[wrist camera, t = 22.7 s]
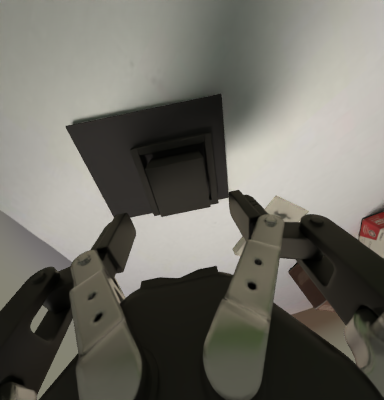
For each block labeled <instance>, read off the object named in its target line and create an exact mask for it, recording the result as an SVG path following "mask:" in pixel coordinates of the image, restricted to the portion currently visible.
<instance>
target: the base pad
mask: <svg viewBox="0 0 384 400" xmlns="http://www.w3.org/2000/svg"><path fill="white" fill-rule="evenodd" d="M66 129H67V131H68V132H69V134H70V136H71V138H72V140H73V142H74V144H75V145H76V147H77V149H78V151H79V153H80V155H81V157H82V158H83V160H84V162H85V164H86V166H87V168H88V170H89V172H90V173H91V175H92V177H93V179H94V181H95V183H96V185H97V186H98V188H99V190H100V192H101V194H102V196H103V198H104V199H105V201H106V203H107V205H108V207H109V209H110V211H111V213H112V214H113V216H114V217H115V216H116V215H117V214H122V213H128V215H129V217H135V216H140V215H145V214H150V213H153V214H154V216H157V215H161V214H160V211H159V208H158V205H157V203H156V200H155V197H154V194H153V191H152V188H151V185H150V182H149V180H148V177H147V174H146V171H145V169H146V167H147V165H148V164H149V162H150V160H151V159H153V158H158V157H163V156H167V155H172V154H177V153H182V152H187V151H191V150H196V149H198V150H199V152H200V153H201V155H202V156H203V159H204V166H205V173H206V180H207V187H208V194H209V201H210V205H211V204H217V203H218V200H219V199H224V198H228V182H227V168H226V153H225V139H224V124H223V109H222V95H221V94H217V95H213V96H208V97H203V98H198V99H193V100H189V101H184V102H179V103H174V104H169V105H165V106H160V107H155V108H150V109H145V110H141V111H136V112H131V113H126V114H121V115H116V116H112V117H107V118H102V119H97V120H92V121H88V122H83V123H78V124H73V125H68V126H66Z"/></svg>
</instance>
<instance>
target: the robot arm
mask: <svg viewBox="0 0 384 400" xmlns="http://www.w3.org/2000/svg"><path fill="white" fill-rule="evenodd" d="M229 208H230V214H231V216H232V218H233V220H234V222H235V223H236V225H237V227H238V229H239V230H240V232H241V234H242V236H243V237H244V239H245V241H246V244H245V246H244V249H243V251H242V254H241V257H240V259H239V262H238V264H237V267H236V270H235V272H234V275H232V274H228V273H224V272H218V270H217V266H214V267H209V268H204V269H199V270H196V271H194V272H192V273H190V274H188V275H185V276H183V277H181V278H161V277H160V278H155V279H150V280H145V281H142V282H141V287H140V289H138V290H136V291H134V292H133V293H131V294H130V295H129V296H128V297H126V298H125V296H124V294H123V292H122V290H121V288H120V286H119V284H118V282H117V280H116V279H115V274H116V273H121V272H123V271H124V268H125V266H126V263H127V260H128V257H129V254H130V251H131V248H132V245H133V242H134V239H135V236H136V230H135V227H134V225H133V223H132V221H131V219H130V217H129V215H128V213H122V214H117V215H116V216H115V217H114V219H113V221H112V222H110V223H109V224H108V225H107V226H106V227H105V228H104V230H103V231H102V233H101V234H100V236H99V238H98V239H97V241H96V242H95V244H94V245H93V247H92V248H91V250H89V251H86V252H84V253H82V254H81V255H79V256H78V257H77V258H76V259H75V260H74V261H73V262H72V264H71V266H70V267H68V268H66V269H63V270H61V271H59V272H58V271H57V270H56V269H55V268H54V267H47V268H44V269H42V270H40V271H38V272H37V273H35V274H34V275H32V276H31V277H30V278H29V279H28V280H27V281H26V282H25V284H23V285H22V287H21V288H20V289H19V290H18V291H17V292H16V294H15V295H14V296H13V297H12V298H11V300H10V301H9V302H8V303H7V304H6V305H5V307H4V308H3V309H2V310H1V311H0V400H37V394H38V392H39V389H40V387H41V385H42V383H43V381H44V379H45V377H46V374H47V372H48V370H49V368H50V366H51V364H52V362H53V359H54V357H55V355H56V353H57V351H58V349H59V347H60V344H61V342H62V340H63V338H64V336H65V334H66V332H67V329H68V327H69V325H70V323H71V321H72V319H73V321H74V327H75V333H76V340H77V347H78V354H77V355H76V356H75V358H74V359H73V360H72V361H71V362H70V363H69V365H68V366H67V367H66V368H65V369H64V371H63V372H62V373H61V374H60V375H59V377H58V378H57V379H56V380H55V381H54V383H53V384H52V385H51V386H50V387H49V388H48V389H47V391H46V392H45V393H44V394H43V395H42V397H41V398H40V399H39V400H384V258H382V257H381V256H379V255H378V254H377V253H375V252H374V251H373V250H371V249H370V248H368V247H367V246H366V245H364V244H363V243H361V242H360V241H359V240H357V239H356V238H354V237H353V236H352V235H350V234H349V233H348V232H346V231H345V230H343V229H342V228H341V227H339V226H338V225H336V224H335V223H334V222H332V221H331V220H329V219H328V218H326V217H323V216H320V215H314V214H309V215H304V216H302V217H301V220H300V222H284V220H283V219H282V218H281V217H279V216H276V215H272V214H268V213H267V212H266V211H265V209H264V208H263V207H262V206H261V205H259V203H258V202H256V200H255V199H254V198H253V197H251V196H249V195H243V194H242V193H241V192H240V191H239V190H236V191H231V192H229ZM280 258H287V259H296V261H297V262H298V263H299V265H300V266H301V267H302V268H303V270H304V271H305V272H306V274H307V275H308V276H309V278H310V279H311V280H312V282H313V283H314V284H315V285H316V287H317V288H318V289H319V291H320V292H321V293H322V295H323V296H324V297H325V299H326V300H327V301H328V302H329V304H330V305H331V306H332V308H333V309H334V310H335V312H336V313H337V314H338V316H339V317H340V318H341V319H342V321H343V322H344V323H345V325H346V327H345V329H344V336H345V340H346V342H347V344H348V346H349V347H350V349H351V351H352V353H353V355H354V357H355V361H356V364H355V363H354V362H353V361H352V360H351V359H350V358H349V357H347V356H346V355H345V354H344V353H342V352H341V351H340V350H338V349H337V348H336V347H334V346H333V345H331V344H330V343H329V342H327V341H326V340H325V339H323V338H322V337H320V336H319V335H318V334H316V333H315V332H313V331H312V330H311V329H309V328H308V327H307V326H305V325H304V324H302V323H301V322H299V321H298V320H297V319H296V318H294V317H293V316H291V315H290V314H289V313H287V312H286V311H284V310H283V309H282V308H280V307H279V306H278V305H276V304H275V303H273V300H274V293H275V286H276V280H277V273H278V266H279V259H280ZM42 305H43V306H44V307H46V308H47V309H48V312H47V313H46V315H45V317H44V318H43V320H42V322H41V323H40V325H39V326H38V328H37V330H36V331H35V333H33V332H32V331H31V329H30V325H31V322H32V320H33V318H34V316H35V315H36V314H37V312H38V311H39V309H40V308H41V306H42Z"/></svg>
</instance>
